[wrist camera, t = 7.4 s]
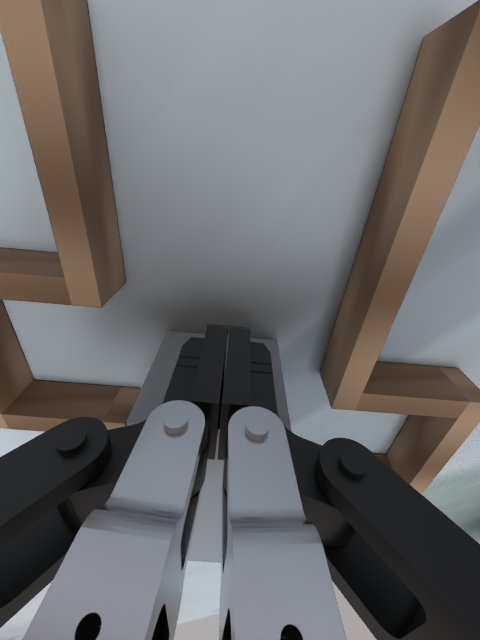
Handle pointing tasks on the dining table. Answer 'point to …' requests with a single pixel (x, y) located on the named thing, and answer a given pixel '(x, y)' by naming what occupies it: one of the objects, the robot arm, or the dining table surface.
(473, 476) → the dining table surface
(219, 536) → the block
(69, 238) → the trap lane
